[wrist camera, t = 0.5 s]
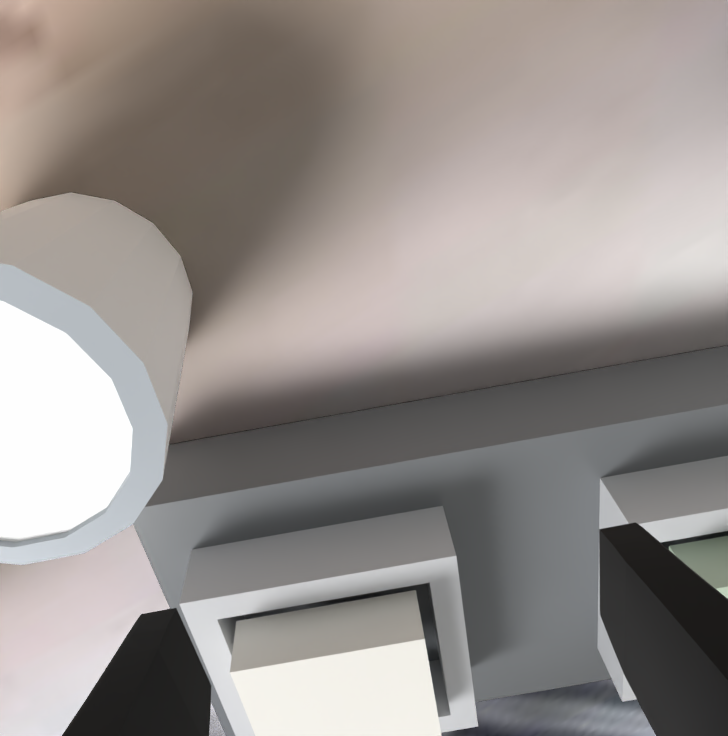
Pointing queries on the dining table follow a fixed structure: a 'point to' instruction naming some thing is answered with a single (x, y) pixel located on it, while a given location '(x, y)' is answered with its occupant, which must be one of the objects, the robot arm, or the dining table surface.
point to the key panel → (447, 520)
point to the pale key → (337, 670)
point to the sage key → (707, 560)
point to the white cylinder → (84, 371)
